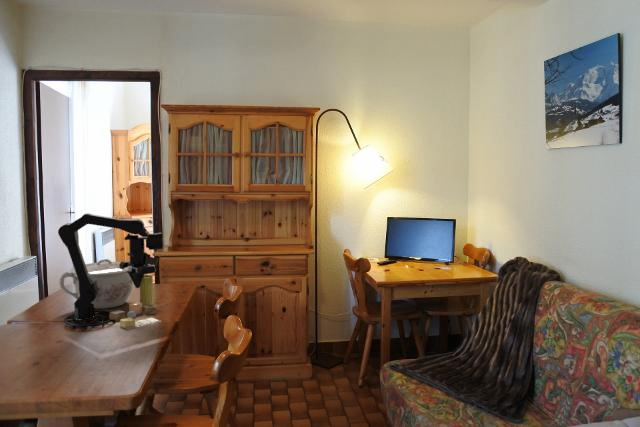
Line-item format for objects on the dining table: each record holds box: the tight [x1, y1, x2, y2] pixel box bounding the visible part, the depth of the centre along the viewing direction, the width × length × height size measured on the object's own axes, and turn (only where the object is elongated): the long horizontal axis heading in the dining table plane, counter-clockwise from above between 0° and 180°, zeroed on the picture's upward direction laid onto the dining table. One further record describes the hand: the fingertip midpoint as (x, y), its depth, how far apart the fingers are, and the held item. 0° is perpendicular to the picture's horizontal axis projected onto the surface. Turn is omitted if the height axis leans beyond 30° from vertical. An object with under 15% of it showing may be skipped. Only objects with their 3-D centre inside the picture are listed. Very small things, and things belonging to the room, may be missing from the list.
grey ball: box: [126, 311, 137, 319], centre depth 200 cm, size 4×4×4 cm
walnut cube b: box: [143, 304, 157, 316], centre depth 206 cm, size 4×4×4 cm
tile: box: [119, 317, 136, 330], centre depth 188 cm, size 4×4×2 cm
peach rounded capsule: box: [128, 301, 143, 316], centre depth 205 cm, size 5×5×5 cm
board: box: [118, 317, 161, 331], centre depth 192 cm, size 14×7×1 cm, turn 139°
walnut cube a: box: [108, 309, 126, 322], centre depth 197 cm, size 4×4×4 cm
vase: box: [139, 274, 155, 308], centre depth 216 cm, size 6×6×14 cm
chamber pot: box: [59, 258, 135, 310], centre depth 220 cm, size 28×28×21 cm
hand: (137, 288), depth 203 cm, fingers closed
